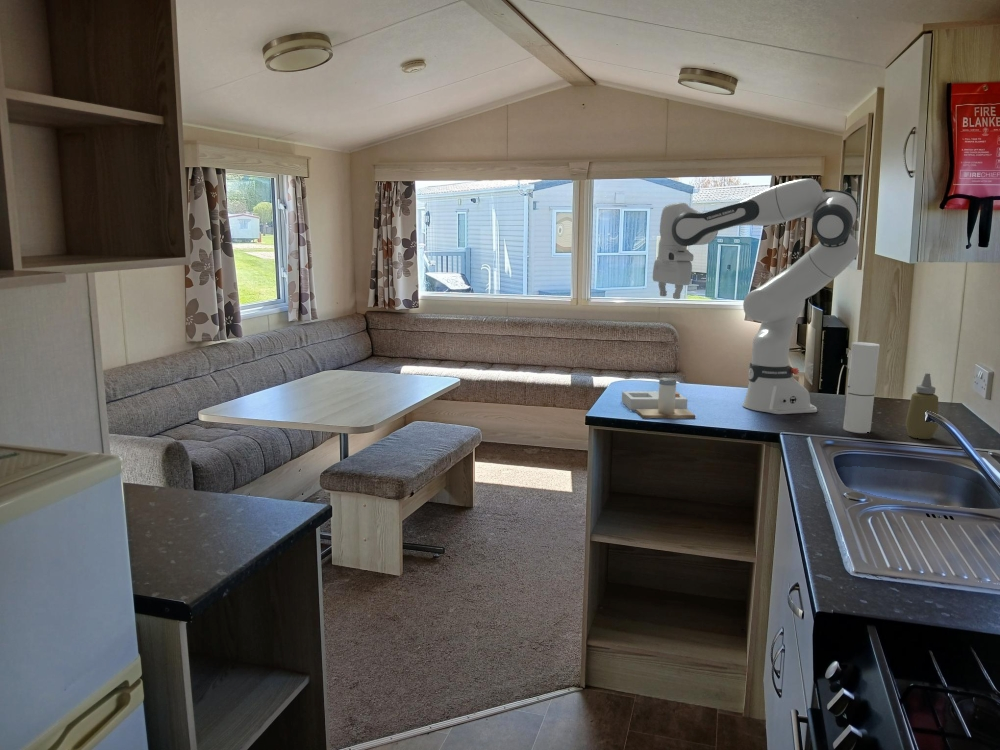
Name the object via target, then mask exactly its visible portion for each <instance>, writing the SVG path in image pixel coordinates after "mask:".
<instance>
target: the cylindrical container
mask: <svg viewBox="0 0 1000 750" xmlns="http://www.w3.org/2000/svg"><path fill="white" fill-rule="evenodd" d="M880 346H881V345H880V344H879V343H874V342H865V341H854V342H851V349H850V359H849V369H848V377H847V378H848V379H847V388H846V399H845V406H844V407H845V409H844V418H843V426H842V427H843V428H842V429H843V430H844V431H845V432H846V431H847V432H851V433H854V434H855V433H857V434H868V433H867V432H869V433H871V428H872V419H873V409H874V402H875V394H876V393H875V392H876V391H875V390H876V382H877V374H878V373H877V372H878V364H879V356H880V348H881V347H880Z"/></svg>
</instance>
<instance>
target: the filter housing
mask: <svg viewBox="0 0 1000 750" xmlns="http://www.w3.org/2000/svg"><path fill="white" fill-rule="evenodd" d="M679 394H680V395H679V397H675V409H687V410H688V398H686V397H685V396H684V395H682V394H681V393H679ZM658 398H659V390H657V391H656V390H655V391H653V390H649V391H645V390H640V391H638V390H634V391H632V390H625V391H624V390H622V391H621V402H622V404H624V405H625V407H627V408H628V409H629V410H630V411H636V409H658Z"/></svg>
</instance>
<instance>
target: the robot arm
mask: <svg viewBox="0 0 1000 750" xmlns="http://www.w3.org/2000/svg"><path fill="white" fill-rule="evenodd" d="M857 201H858V200H856V198H855V197H854V196H853V194H851V193H850V192H847V191H846V190H845V191H844V190H835V189H829V188H825V189H822V186H821V185H820V183H819V182H818V181H817V180H815V179H814V178H800V179H795V180H791V181H787V182H786V181H785V182H784V183H783V182H782V183H780V184H777V185H773V186H771V187H768V188H766V189H763V190H761V191H759V192H757V193H755V194H753V195H751V196H749V197H747V198H744V199H743V200H739V201H737V202H735V203H733V204H730V205H729V204H728V205H727V206H723V207H720V208H717V209H712V210H709V211H706V212H700V211H698V210H696V209H694V208H692V207H690V206H689V205H688V204H687V203H686V202H676V203H675V202H674V203H670V204H668V205H665V206H664V207H663V209H662V212H661V216H660V224H659V235H660V240H659V242H658V252H657V253H658V255H657V257H656V259H655V261H654V263H653V268H652V269H653V270H652V280H653V282H655V283H656V282H657V283H658V289H659V296H660V297H667V295H668V293H667V292H668V291H667V289H666V286H667V284H670V285H674V288H675V290H674V292H673V293H672V295H673V296H672V298H673V299H674V300H680V299H681V293H682V290H683V288H684V286H689V285H690V283H691V280H692V273H693V272H692V271H693V263H692V262H693V261H694V254H693V253H691V252H690V251H689V249H688V247H689V246H690V247H691V246H703V245H704V246H705V245H707V244H710V243H712V242H714V240H715V239H716V238H717V236H718V232H719V231H723V230H726V229H730V228H733V227H738V226H761V227H763V226H764V227H765V226H774V225H779V224H783V223H787V222H790V221H793V220H796V219H798V218H799V219H801V218H807V219H808V218H809V219H812V220H811V227H812V230H813V234H814V235H815V237H816V238H817V239H818V243H817V244H815V245H814V246H813V247H812V248H811V249H809V250H808V251H807V252H806V253H805V254H803V255H802V256H800V258H798V260H796V261H795V262H794V263H793V264H791V265H790V266H789V267H788V268H786V269H785V270H783V271H782V272H780V273H778V274H777V275H775V276H774V277H772V278H770V279H769V280H768V281H766V282H764V283H762V285H760V286H758V287H757V288H755V289H753V290H751V291H750V292H748V293H747V294H746V295H745V297H744V300H743V302H742V303H743V307H742V308H743V312H744V314H745V315H746V316H747V318H749V319H750V320H753V321H755V322H759V323H760V327H759V329H758V331H757V333H756V334H755V336H754V338H753V341H752V349H751V350H752V351H751V361H750V363H749V369H748V386H747V392H746V395H745V398H744V401H743V403H742V406H743V407H744V408H747V409H748V410H751V411H757V412H765V413H770V414H775V415H787V414H789V415H790V414H804V413H805V414H806V413H816V412H818V409H817V406H815V405H814V404H812V403H811V398H810V397H811V396H810V392H809V390H808V389H807V388H806V387H805V386H803V384H801V383H800V382H799V381H797V380H796V379H795V378H794V377H793V375H799V373H800V369H799V368H797V367H795V366H794V367H792V366H790V364H789V356H790V345H791V342H792V341H791V340H792V336H793V334H794V333H793V332H794V330H795V326H796V323H797V321H798V318H799V316H800V314H802V312H803V310H804V308H805V306H806V305H805V304H806V299H808V298H810V297H812V296H814V295H816V294H817V293H818V292H819V291H820V290H822V289H823V288H824V287H826V286H827V285H828V284H829V283H831V282H832V281H833V280H834V279H835V278H837V277H838V276H839V275H841V273H842V272H843V271H845V270H846V269H847V267H848V266H850V265H851V263H853V261H854V260H855V259H856V258H857V256H858V255H859V250H860V247H859V246H860V245H859V244H858V241H857V240H856V238H855V237H854V236H853V235H852V233H851V232H852V230H853V227H854V225H855V222H856V221H857V214H858V210H859V205H858V202H857Z"/></svg>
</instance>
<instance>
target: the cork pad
mask: <svg viewBox="0 0 1000 750" xmlns="http://www.w3.org/2000/svg"><path fill="white" fill-rule="evenodd" d="M635 412H636V414H637V415H638V416H640V417H641V419H643V418H665V419H696V415H695V414H694V413H693V412H692V411H690V410H689V409H688V408H687V409H675V412H674V413H672V414H664V413H659V412H658V409H636V410H635Z"/></svg>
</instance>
